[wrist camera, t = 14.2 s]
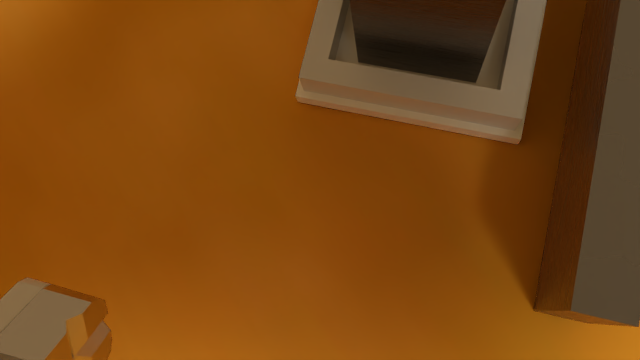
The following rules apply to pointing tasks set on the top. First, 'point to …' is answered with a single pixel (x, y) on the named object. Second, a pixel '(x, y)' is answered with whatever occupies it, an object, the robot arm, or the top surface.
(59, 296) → the robot arm
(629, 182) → the door edge rail
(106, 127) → the top surface
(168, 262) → the top surface
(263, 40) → the top surface
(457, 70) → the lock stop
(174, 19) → the top surface
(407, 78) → the socket
